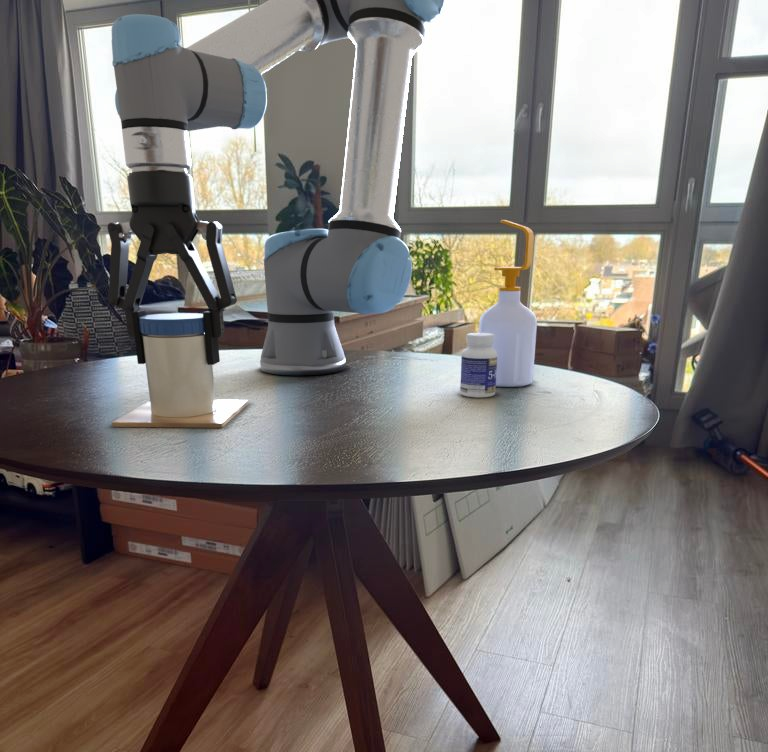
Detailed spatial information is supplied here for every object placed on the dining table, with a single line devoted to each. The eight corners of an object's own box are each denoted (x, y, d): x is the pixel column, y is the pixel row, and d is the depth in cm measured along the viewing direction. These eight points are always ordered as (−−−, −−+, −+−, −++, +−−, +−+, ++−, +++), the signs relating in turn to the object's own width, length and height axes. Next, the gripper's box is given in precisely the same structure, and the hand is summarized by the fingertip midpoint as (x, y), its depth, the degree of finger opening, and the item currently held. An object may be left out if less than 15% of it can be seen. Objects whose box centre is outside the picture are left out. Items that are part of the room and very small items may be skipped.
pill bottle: (494, 398, 105) (497, 336, 102) (458, 397, 106) (460, 336, 103) (496, 391, 110) (499, 332, 107) (462, 390, 111) (464, 331, 108)
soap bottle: (484, 376, 123) (491, 220, 114) (537, 379, 120) (549, 220, 111) (470, 385, 115) (476, 219, 106) (527, 389, 112) (538, 218, 103)
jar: (164, 403, 101) (154, 317, 96) (223, 404, 100) (216, 317, 96) (141, 417, 93) (130, 324, 89) (206, 417, 92) (197, 324, 88)
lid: (128, 335, 89) (126, 319, 89) (159, 327, 97) (157, 312, 97) (194, 336, 88) (193, 320, 87) (220, 328, 96) (219, 313, 95)
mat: (152, 403, 104) (151, 399, 103) (248, 404, 103) (248, 399, 103) (112, 426, 90) (111, 422, 90) (222, 428, 90) (221, 423, 89)
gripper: (58, 170, 84) (87, 366, 92) (237, 167, 82) (251, 368, 90) (89, 175, 91) (113, 357, 99) (255, 173, 89) (266, 359, 97)
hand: (179, 362), depth 94 cm, fingers closed on lid, 9 cm apart
